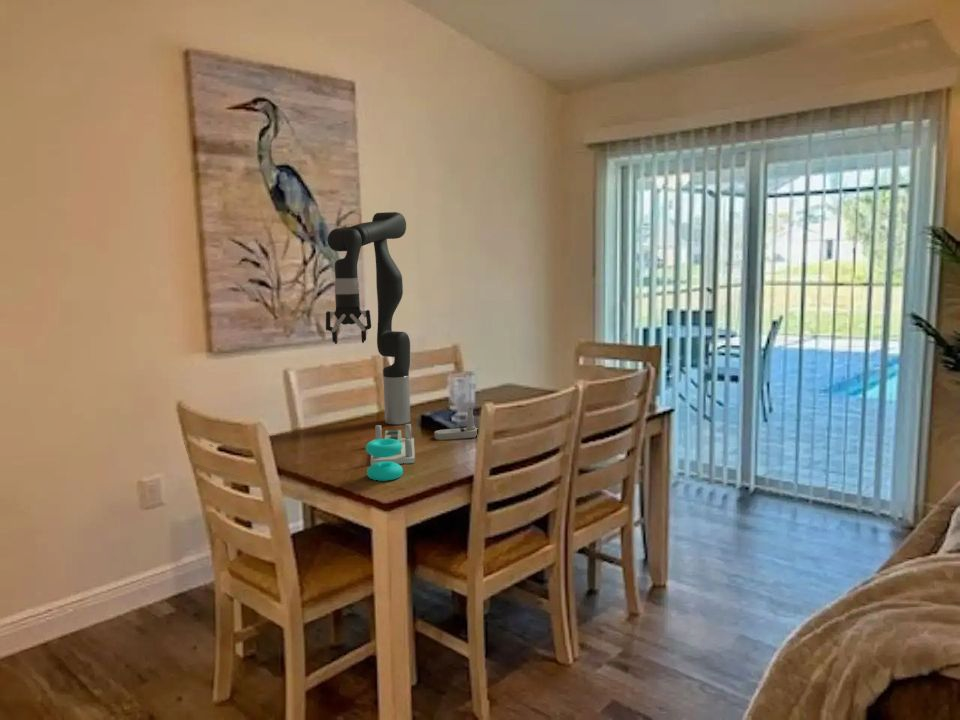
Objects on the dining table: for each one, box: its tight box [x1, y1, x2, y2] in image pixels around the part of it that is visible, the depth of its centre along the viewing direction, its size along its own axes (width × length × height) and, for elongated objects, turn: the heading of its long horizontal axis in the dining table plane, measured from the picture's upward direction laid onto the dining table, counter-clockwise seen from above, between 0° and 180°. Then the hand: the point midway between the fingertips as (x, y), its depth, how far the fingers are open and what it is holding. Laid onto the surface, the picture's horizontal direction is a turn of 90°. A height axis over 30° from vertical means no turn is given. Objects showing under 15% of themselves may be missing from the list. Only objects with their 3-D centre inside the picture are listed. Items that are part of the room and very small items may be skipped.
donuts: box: [365, 438, 404, 482], centre depth 208 cm, size 10×10×10 cm
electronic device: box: [433, 407, 479, 441], centre depth 250 cm, size 5×10×15 cm
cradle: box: [370, 423, 416, 466], centre depth 232 cm, size 24×13×6 cm, turn 6°
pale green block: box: [384, 429, 403, 454], centre depth 232 cm, size 14×5×5 cm, turn 6°
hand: (349, 343), depth 240 cm, fingers open, 8 cm apart
